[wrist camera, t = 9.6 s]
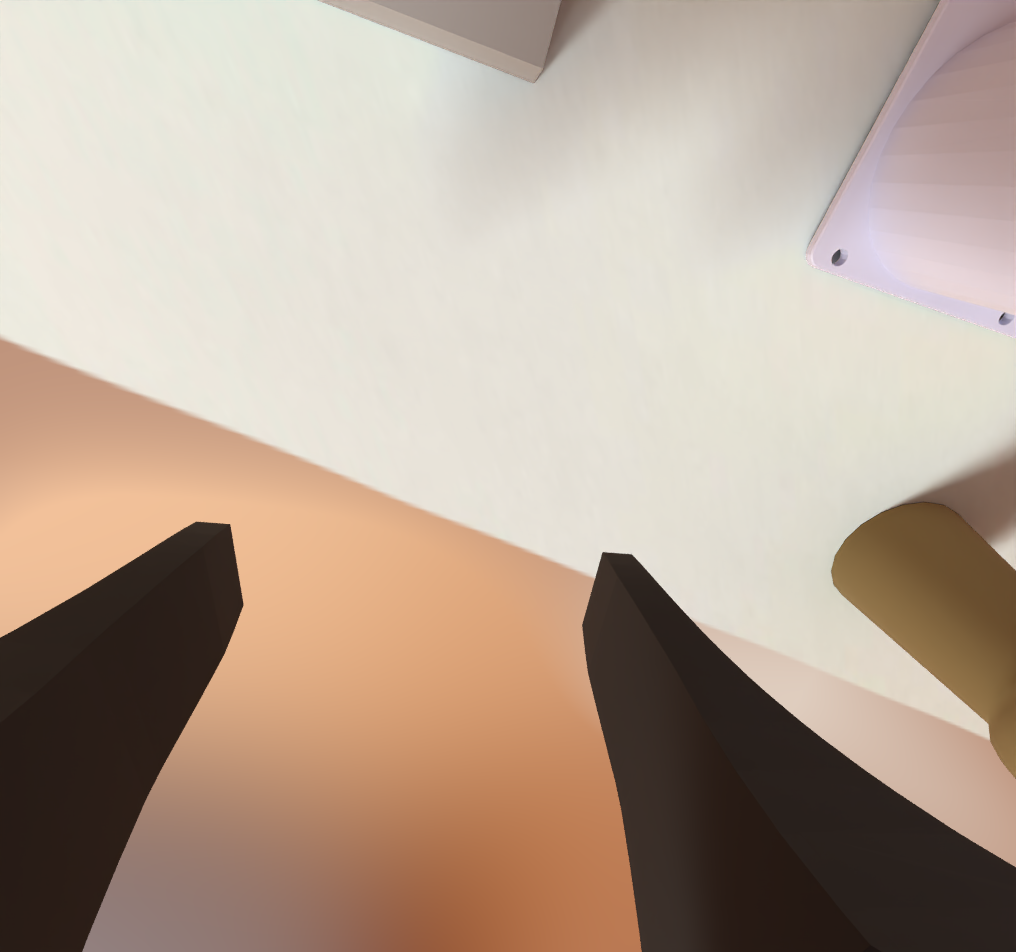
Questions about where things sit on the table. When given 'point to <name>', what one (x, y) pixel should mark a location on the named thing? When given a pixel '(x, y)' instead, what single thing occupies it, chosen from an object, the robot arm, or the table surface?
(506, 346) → the table surface
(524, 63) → the socket block
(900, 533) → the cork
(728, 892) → the robot arm
